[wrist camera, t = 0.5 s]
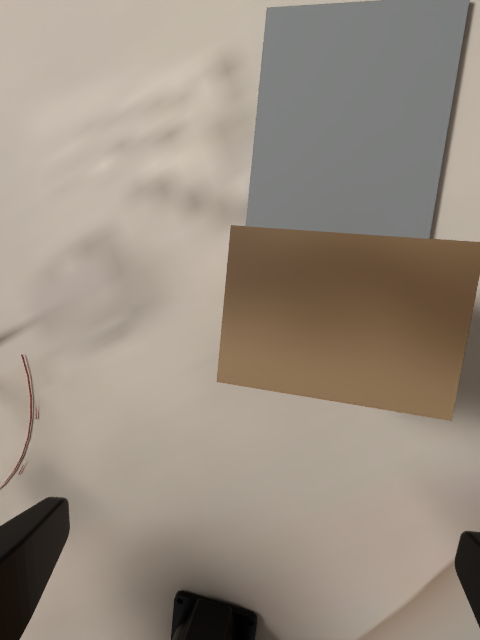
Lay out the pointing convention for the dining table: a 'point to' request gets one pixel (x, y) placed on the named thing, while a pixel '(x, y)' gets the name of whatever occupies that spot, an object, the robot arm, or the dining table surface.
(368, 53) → the felt mat
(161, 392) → the dining table surface
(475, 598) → the robot arm
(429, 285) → the walnut block
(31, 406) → the red flower sculpture
